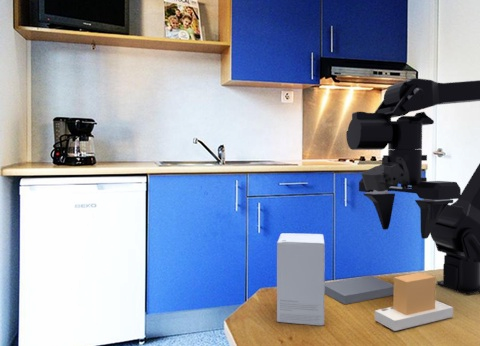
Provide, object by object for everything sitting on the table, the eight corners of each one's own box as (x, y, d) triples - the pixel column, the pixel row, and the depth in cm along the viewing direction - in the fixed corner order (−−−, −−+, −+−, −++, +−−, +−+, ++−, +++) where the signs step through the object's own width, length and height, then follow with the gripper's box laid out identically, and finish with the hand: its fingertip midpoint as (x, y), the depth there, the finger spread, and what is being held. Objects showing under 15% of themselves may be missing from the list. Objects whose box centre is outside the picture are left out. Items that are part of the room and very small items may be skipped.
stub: (431, 307, 62) (431, 268, 62) (452, 316, 59) (453, 275, 59) (374, 320, 58) (375, 278, 58) (394, 330, 54) (395, 286, 54)
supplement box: (325, 326, 56) (325, 243, 56) (275, 322, 58) (275, 241, 57) (324, 307, 63) (324, 233, 63) (280, 304, 65) (280, 231, 64)
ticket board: (370, 282, 76) (370, 275, 76) (397, 294, 69) (397, 286, 69) (320, 291, 71) (320, 283, 71) (344, 304, 64) (344, 295, 64)
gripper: (337, 150, 75) (337, 228, 75) (413, 148, 58) (412, 249, 58) (380, 150, 79) (380, 224, 80) (463, 148, 62) (462, 242, 63)
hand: (403, 233), depth 70 cm, fingers open, 9 cm apart
